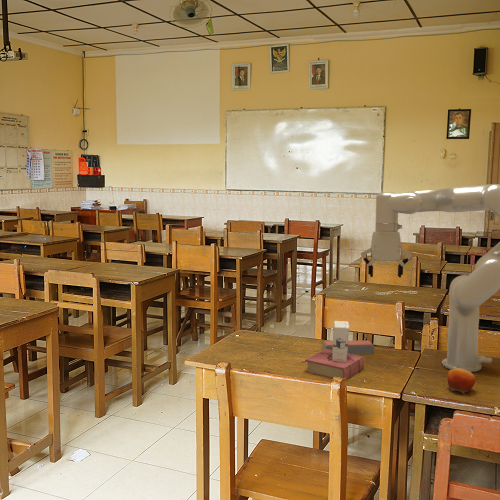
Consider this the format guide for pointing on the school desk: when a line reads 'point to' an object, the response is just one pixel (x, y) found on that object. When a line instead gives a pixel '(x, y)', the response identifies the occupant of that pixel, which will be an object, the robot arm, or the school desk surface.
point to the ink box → (340, 341)
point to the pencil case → (354, 347)
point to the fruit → (460, 380)
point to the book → (334, 365)
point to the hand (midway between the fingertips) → (385, 276)
